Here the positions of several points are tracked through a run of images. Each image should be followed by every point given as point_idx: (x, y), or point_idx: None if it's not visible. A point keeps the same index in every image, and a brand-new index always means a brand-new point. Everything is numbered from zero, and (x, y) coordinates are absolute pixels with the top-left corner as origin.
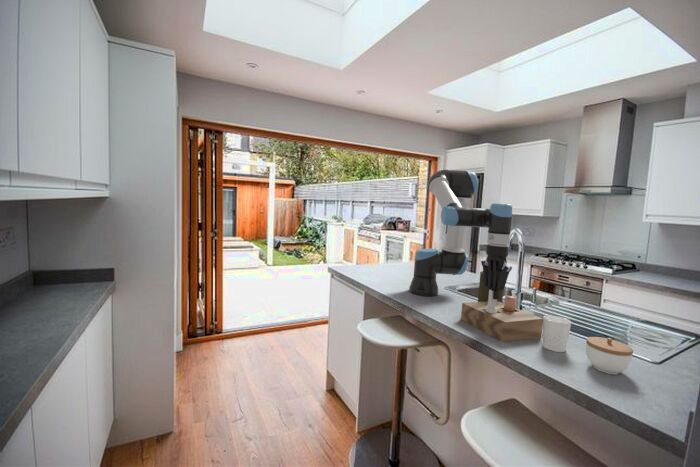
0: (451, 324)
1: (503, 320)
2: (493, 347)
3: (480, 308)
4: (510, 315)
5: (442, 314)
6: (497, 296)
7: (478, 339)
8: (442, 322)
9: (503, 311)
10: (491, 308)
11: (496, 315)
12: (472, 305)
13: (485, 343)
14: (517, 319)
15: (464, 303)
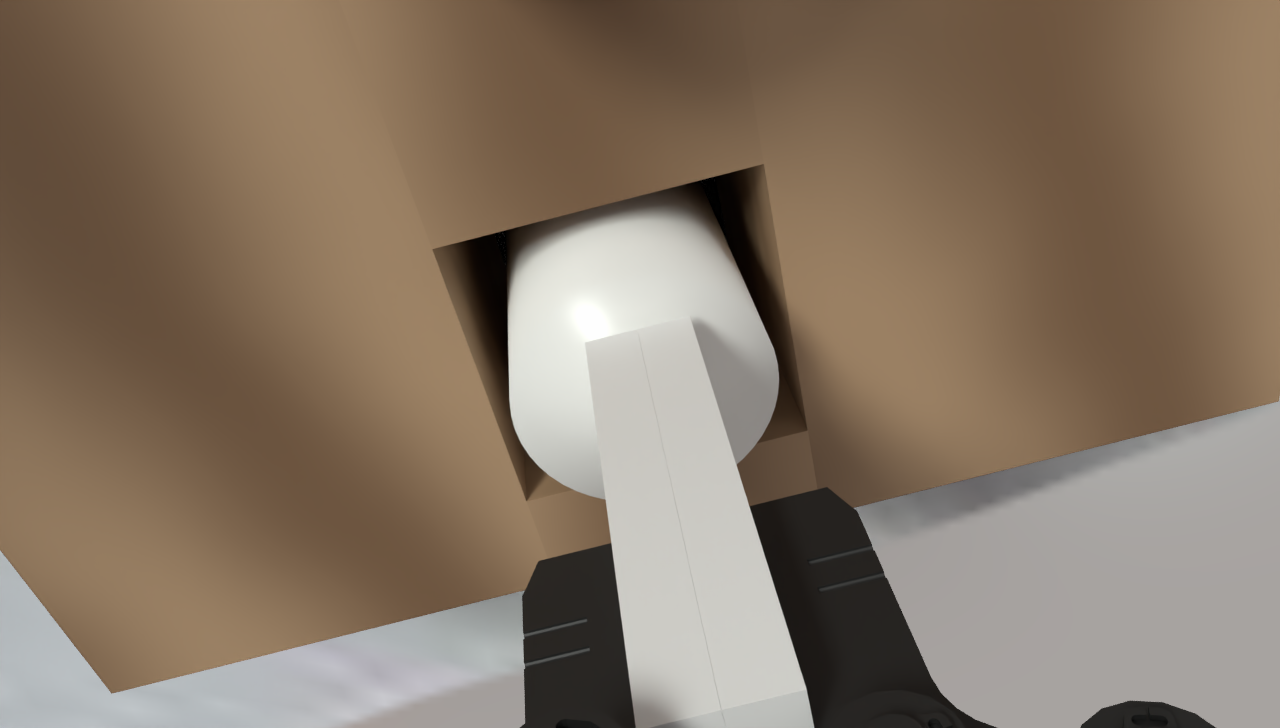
0: (454, 631)
1: (1201, 384)
2: (1186, 431)
3: (469, 496)
4: (972, 36)
5: (6, 635)
6: (882, 583)
7: (954, 498)
8: (392, 704)
9: (656, 40)
10: (732, 437)
11: (928, 377)
12: (260, 570)
13: (1071, 469)
14: (1247, 33)
15: (147, 669)
